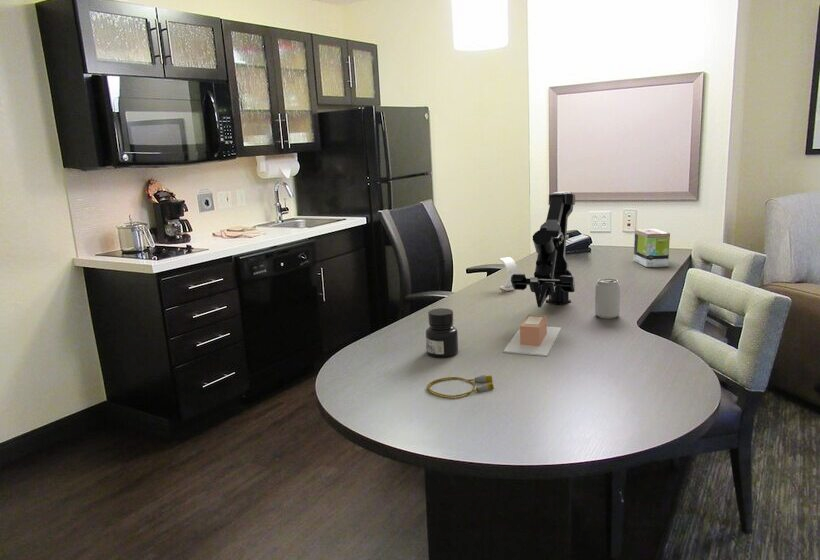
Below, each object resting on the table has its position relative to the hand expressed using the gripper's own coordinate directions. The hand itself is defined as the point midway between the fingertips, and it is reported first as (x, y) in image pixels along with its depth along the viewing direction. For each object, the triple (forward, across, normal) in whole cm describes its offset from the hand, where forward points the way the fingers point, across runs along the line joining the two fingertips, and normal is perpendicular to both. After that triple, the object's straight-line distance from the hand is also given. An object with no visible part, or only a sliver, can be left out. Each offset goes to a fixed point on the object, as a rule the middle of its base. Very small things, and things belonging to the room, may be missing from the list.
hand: (539, 307), depth 172 cm
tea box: (-66, -29, -80) cm, 108 cm away
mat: (+11, 0, 0) cm, 11 cm away
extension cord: (+38, +10, +27) cm, 48 cm away
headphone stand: (-28, +21, -40) cm, 53 cm away
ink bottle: (+23, +22, +12) cm, 34 cm away
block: (+5, 0, -1) cm, 5 cm away
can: (-8, -18, -20) cm, 28 cm away
